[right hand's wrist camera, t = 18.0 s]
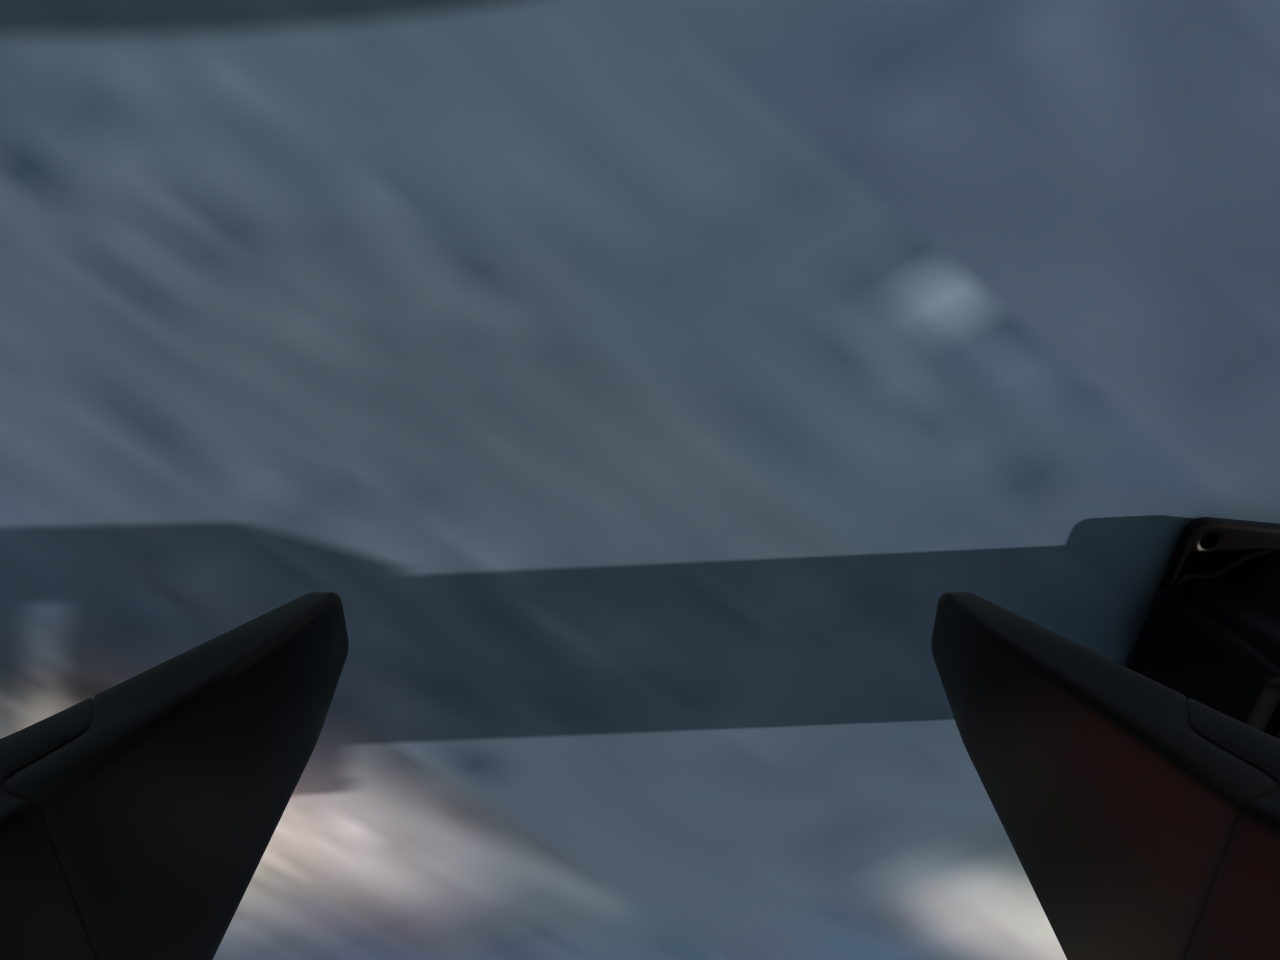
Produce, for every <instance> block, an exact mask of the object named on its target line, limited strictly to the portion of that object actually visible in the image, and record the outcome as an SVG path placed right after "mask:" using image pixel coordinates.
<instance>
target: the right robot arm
mask: <svg viewBox="0 0 1280 960" xmlns="http://www.w3.org/2000/svg"><path fill="white" fill-rule="evenodd" d="M1207 533H1209V536H1208V537H1207V539H1206V540H1204V541H1202V542H1200V540H1201V539H1202V537H1203V536H1204V535H1206V534H1207ZM347 653H348V636H347V630H346V624H345V618H344V612H343V606H342V602H341V599H340V597H339V596H338V595H337V594H336V593H332V592H313V593H308V594H306V595H304V596H302V597H299V598H297V599H295V600H293V601H291V602H289V603H287V604H285V605H283V606H281V607H279V608H277V609H274V610H272V611H270V612H268V613H266V614H264V615H262V616H260V617H258V618H256V619H254V620H251V621H249V622H247V623H245V624H243V625H241V626H239V627H237V628H235V629H233V630H231V631H229V632H226V633H224V634H222V635H220V636H218V637H216V638H214V639H212V640H210V641H208V642H206V643H204V644H201V645H199V646H197V647H195V648H193V649H191V650H189V651H187V652H185V653H183V654H181V655H179V656H176V657H174V658H172V659H170V660H168V661H166V662H164V663H162V664H160V665H158V666H156V667H153V668H151V669H149V670H147V671H145V672H143V673H141V674H139V675H137V676H135V677H133V678H131V679H128V680H126V681H124V682H122V683H120V684H118V685H116V686H114V687H112V688H110V689H108V690H106V691H103V692H101V693H99V694H97V695H96V696H95V697H94V700H93V699H91V698H89V699H86V700H84V701H82V702H80V703H78V704H76V705H74V706H72V707H70V708H68V709H66V710H64V711H61V712H59V713H57V714H55V715H53V716H51V717H49V718H46V719H44V720H42V721H40V722H38V723H36V724H33V725H31V726H29V727H27V728H25V729H23V730H20V731H18V732H16V733H14V734H11V735H9V736H7V737H4V738H2V739H0V960H213V957H214V955H215V953H216V951H217V949H218V947H219V945H220V943H221V941H222V939H223V937H224V935H225V933H226V930H227V928H228V926H229V924H230V922H231V920H232V918H233V916H234V914H235V912H236V910H237V908H238V906H239V903H240V901H241V899H242V897H243V895H244V893H245V891H246V889H247V887H248V885H249V883H250V881H251V879H252V876H253V874H254V872H255V870H256V868H257V866H258V864H259V862H260V860H261V858H262V856H263V854H264V852H265V849H266V847H267V845H268V843H269V841H270V839H271V837H272V835H273V833H274V831H275V829H276V827H277V825H278V822H279V820H280V818H281V816H282V814H283V812H284V810H285V808H286V806H287V804H288V802H289V800H290V798H291V795H292V793H293V791H294V789H295V787H296V785H297V783H298V781H299V779H300V777H301V775H302V773H303V771H304V768H305V766H306V764H307V762H308V760H309V758H310V756H311V754H312V752H313V749H314V747H315V745H316V743H317V740H318V738H319V735H320V732H321V730H322V727H323V724H324V721H325V718H326V715H327V712H328V709H329V707H330V704H331V701H332V698H333V695H334V692H335V689H336V686H337V683H338V680H339V677H340V674H341V672H342V669H343V666H344V663H345V660H346V657H347ZM932 653H933V657H934V660H935V663H936V666H937V669H938V672H939V674H940V677H941V680H942V683H943V686H944V689H945V692H946V695H947V698H948V701H949V704H950V707H951V710H952V712H953V715H954V718H955V721H956V724H957V727H958V730H959V732H960V735H961V738H962V740H963V743H964V745H965V747H966V749H967V752H968V754H969V756H970V758H971V760H972V762H973V764H974V766H975V769H976V771H977V773H978V775H979V777H980V779H981V781H982V783H983V785H984V787H985V789H986V791H987V793H988V796H989V798H990V800H991V802H992V804H993V806H994V808H995V810H996V812H997V814H998V816H999V818H1000V820H1001V823H1002V825H1003V827H1004V829H1005V831H1006V833H1007V835H1008V837H1009V839H1010V841H1011V843H1012V845H1013V847H1014V850H1015V852H1016V854H1017V856H1018V858H1019V860H1020V862H1021V864H1022V866H1023V868H1024V870H1025V872H1026V874H1027V877H1028V879H1029V881H1030V883H1031V885H1032V887H1033V889H1034V891H1035V893H1036V895H1037V897H1038V899H1039V901H1040V904H1041V906H1042V908H1043V910H1044V912H1045V914H1046V916H1047V918H1048V920H1049V922H1050V924H1051V926H1052V928H1053V931H1054V933H1055V935H1056V937H1057V939H1058V941H1059V943H1060V945H1061V947H1062V949H1063V951H1064V953H1065V955H1066V958H1067V960H1280V524H1275V523H1264V522H1254V521H1243V520H1232V519H1222V518H1211V517H1202V518H1197V519H1195V520H1193V521H1191V522H1190V523H1188V524H1187V525H1186V526H1185V527H1184V529H1183V531H1182V532H1181V534H1180V537H1179V539H1178V542H1177V544H1176V547H1175V549H1174V552H1173V554H1172V556H1171V559H1170V561H1169V564H1168V566H1167V569H1166V571H1165V574H1164V576H1163V578H1162V581H1161V583H1160V586H1159V588H1158V591H1157V593H1156V596H1155V598H1154V601H1153V603H1152V605H1151V608H1150V610H1149V613H1148V615H1147V618H1146V620H1145V623H1144V625H1143V627H1142V630H1141V632H1140V635H1139V637H1138V640H1137V642H1136V645H1135V647H1134V650H1133V652H1132V654H1131V657H1130V659H1129V662H1128V664H1127V667H1124V666H1122V665H1120V664H1118V663H1116V662H1114V661H1112V660H1110V659H1108V658H1106V657H1104V656H1101V655H1099V654H1097V653H1095V652H1093V651H1091V650H1089V649H1087V648H1085V647H1083V646H1081V645H1079V644H1076V643H1074V642H1072V641H1070V640H1068V639H1066V638H1064V637H1062V636H1060V635H1058V634H1056V633H1054V632H1051V631H1049V630H1047V629H1045V628H1043V627H1041V626H1039V625H1037V624H1035V623H1033V622H1031V621H1028V620H1026V619H1024V618H1022V617H1020V616H1018V615H1016V614H1014V613H1012V612H1010V611H1008V610H1006V609H1003V608H1001V607H999V606H997V605H995V604H993V603H991V602H989V601H987V600H985V599H983V598H981V597H978V596H976V595H974V594H972V593H967V592H948V593H944V594H943V595H942V596H941V597H940V599H939V601H938V606H937V612H936V618H935V624H934V630H933V636H932Z"/></svg>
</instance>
